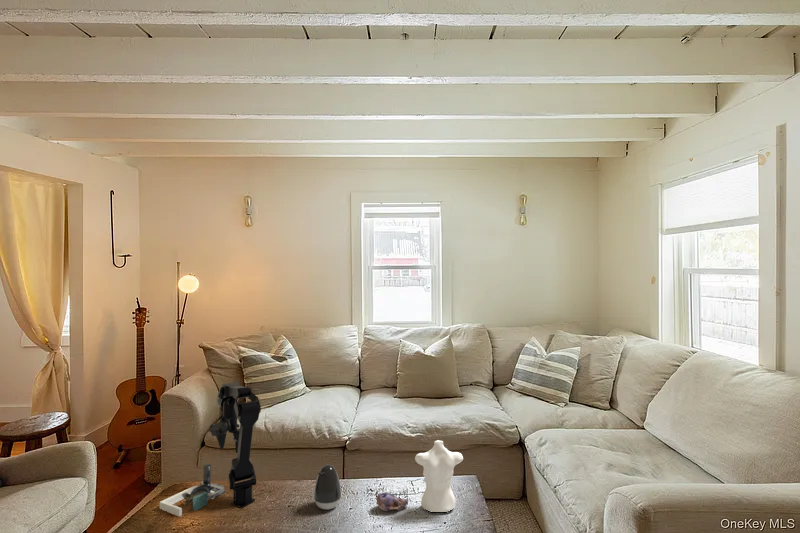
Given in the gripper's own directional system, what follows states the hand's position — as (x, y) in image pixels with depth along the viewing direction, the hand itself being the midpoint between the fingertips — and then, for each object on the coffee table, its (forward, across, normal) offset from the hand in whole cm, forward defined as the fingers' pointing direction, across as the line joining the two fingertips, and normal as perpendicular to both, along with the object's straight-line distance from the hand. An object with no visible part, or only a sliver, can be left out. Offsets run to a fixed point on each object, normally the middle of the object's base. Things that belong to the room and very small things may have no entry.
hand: (229, 450), depth 183 cm
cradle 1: (+13, +2, -10) cm, 16 cm away
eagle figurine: (+13, +3, -18) cm, 22 cm away
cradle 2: (+13, +5, -10) cm, 17 cm away
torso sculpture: (+13, +85, +23) cm, 89 cm away
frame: (+13, +1, -20) cm, 23 cm away
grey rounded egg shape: (+13, +48, +4) cm, 50 cm away
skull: (+14, +70, +14) cm, 73 cm away
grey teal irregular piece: (+13, +2, -15) cm, 20 cm away
